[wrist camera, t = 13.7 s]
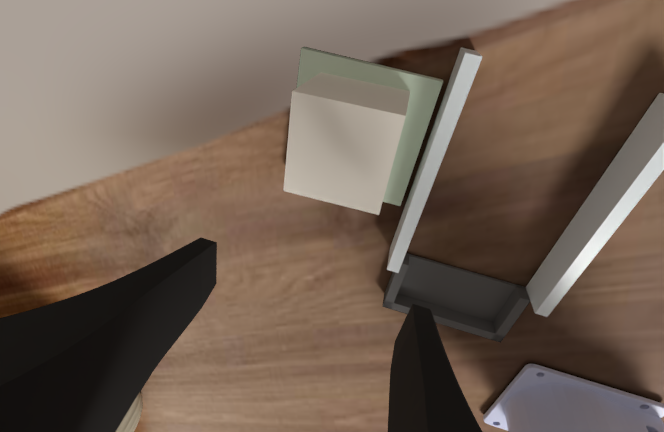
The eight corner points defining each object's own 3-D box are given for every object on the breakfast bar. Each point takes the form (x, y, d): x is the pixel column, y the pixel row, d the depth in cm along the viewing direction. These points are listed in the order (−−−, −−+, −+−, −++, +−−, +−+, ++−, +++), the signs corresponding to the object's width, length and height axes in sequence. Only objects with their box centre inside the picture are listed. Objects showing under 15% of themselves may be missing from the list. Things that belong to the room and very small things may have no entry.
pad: (442, 79, 17) (443, 82, 16) (400, 201, 21) (400, 206, 20) (304, 46, 17) (301, 48, 17) (289, 170, 21) (285, 174, 21)
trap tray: (525, 287, 22) (530, 300, 21) (497, 328, 24) (500, 342, 23) (400, 251, 22) (399, 262, 21) (384, 294, 25) (382, 306, 24)
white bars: (676, 96, 15) (711, 109, 13) (537, 290, 22) (547, 316, 20) (460, 47, 16) (465, 52, 14) (389, 248, 22) (386, 269, 21)
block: (410, 90, 17) (405, 115, 13) (388, 173, 19) (379, 215, 15) (321, 72, 17) (291, 90, 13) (310, 155, 20) (283, 191, 16)
